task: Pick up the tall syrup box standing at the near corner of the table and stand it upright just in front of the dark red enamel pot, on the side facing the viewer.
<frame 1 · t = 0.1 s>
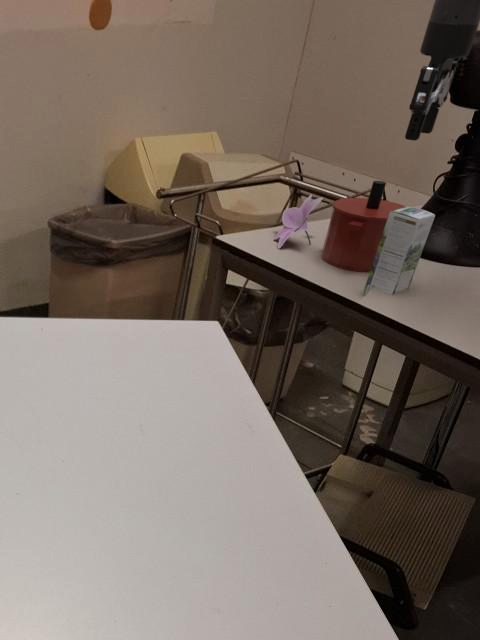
hand: (418, 136, 144), 25 cm above the table, tool pointing down, fingers open, 8 cm apart
pot lid: (371, 210, 164), point 9 cm above the table, touching pot
syrup box: (384, 297, 154), on the table
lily: (291, 245, 178), on the table
pot: (356, 260, 170), on the table
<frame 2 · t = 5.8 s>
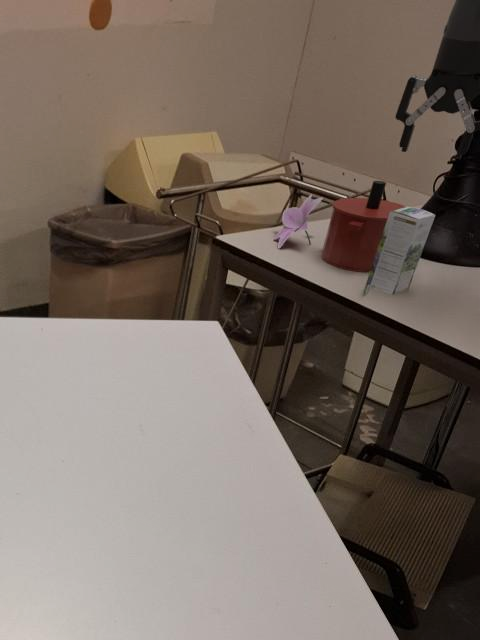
hand: (430, 154, 139), 23 cm above the table, tool pointing down, fingers open, 8 cm apart
nothing on the table moved.
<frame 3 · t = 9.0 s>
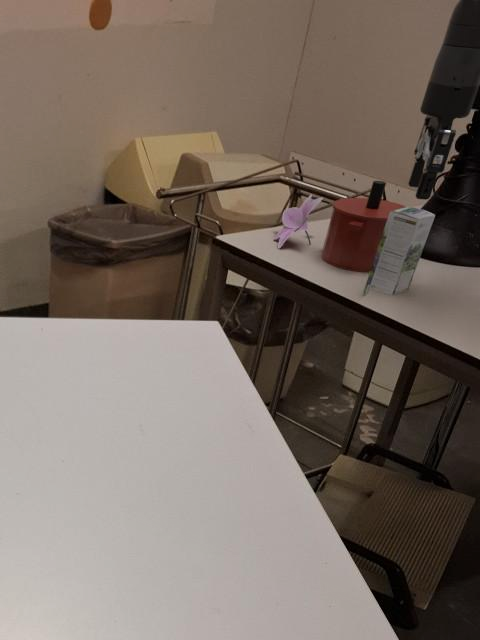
hand: (418, 192, 143), 17 cm above the table, tool pointing down, fingers open, 8 cm apart
nothing on the table moved.
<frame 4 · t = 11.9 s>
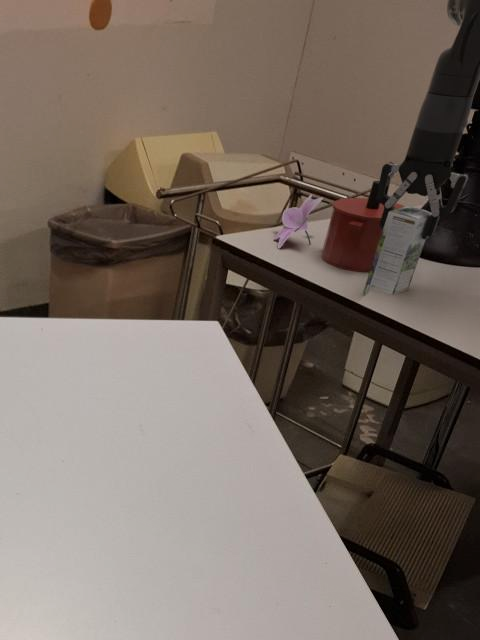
hand: (404, 234, 147), 11 cm above the table, tool pointing down, fingers closed on syrup box, 6 cm apart
syrup box: (384, 296, 154), on the table, touching gripper
everything else where it was.
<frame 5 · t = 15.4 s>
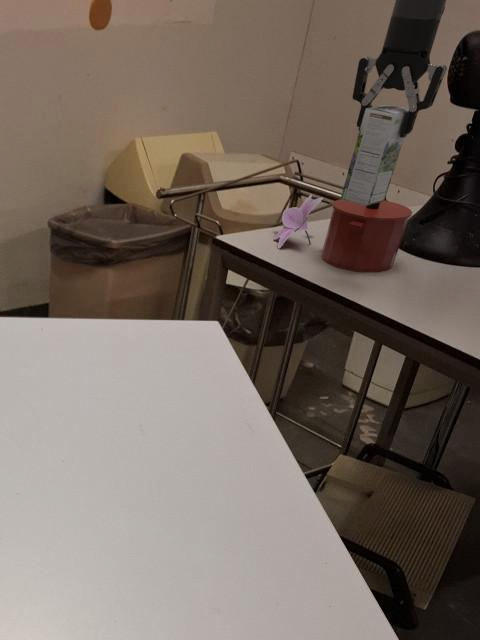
hand: (382, 133, 144), 25 cm above the table, tool pointing down, fingers closed on syrup box, 6 cm apart
syrup box: (362, 202, 151), point 14 cm above the table, touching gripper
everything else where it was.
when the fingers open (11 cm above the table, at t = 19.1 s): syrup box stays where it is, on the table.
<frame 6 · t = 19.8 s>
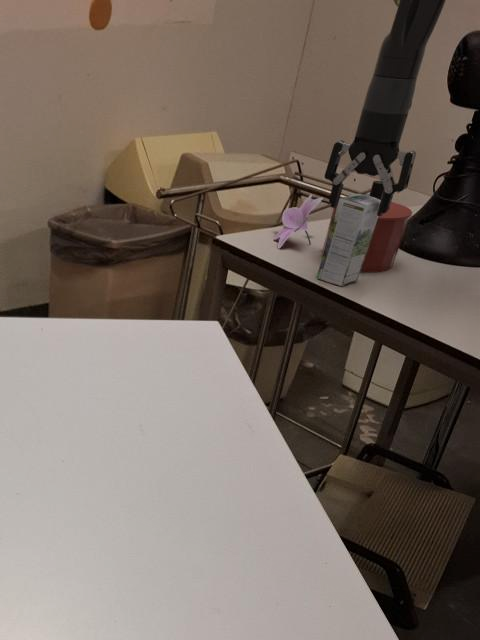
hand: (356, 211, 152), 12 cm above the table, tool pointing down, fingers open, 8 cm apart
syrup box: (337, 281, 161), on the table
everything else where it was.
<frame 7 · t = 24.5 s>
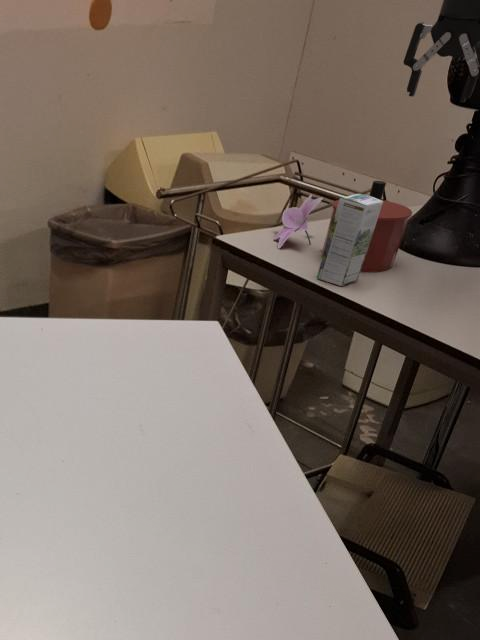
hand: (436, 98, 146), 29 cm above the table, tool pointing down, fingers open, 8 cm apart
nothing on the table moved.
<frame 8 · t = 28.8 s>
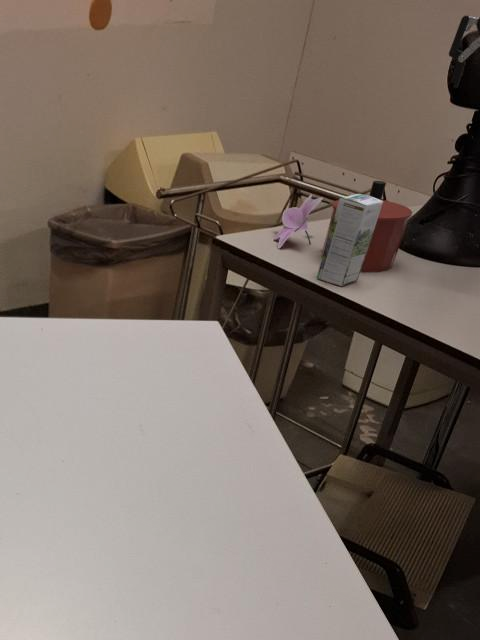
nothing on the table moved.
at the end: syrup box inside the target area on the table beside the pot (0.1 cm from its centre), on the table; syrup box tilted 0°; the gripper is holding nothing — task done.
